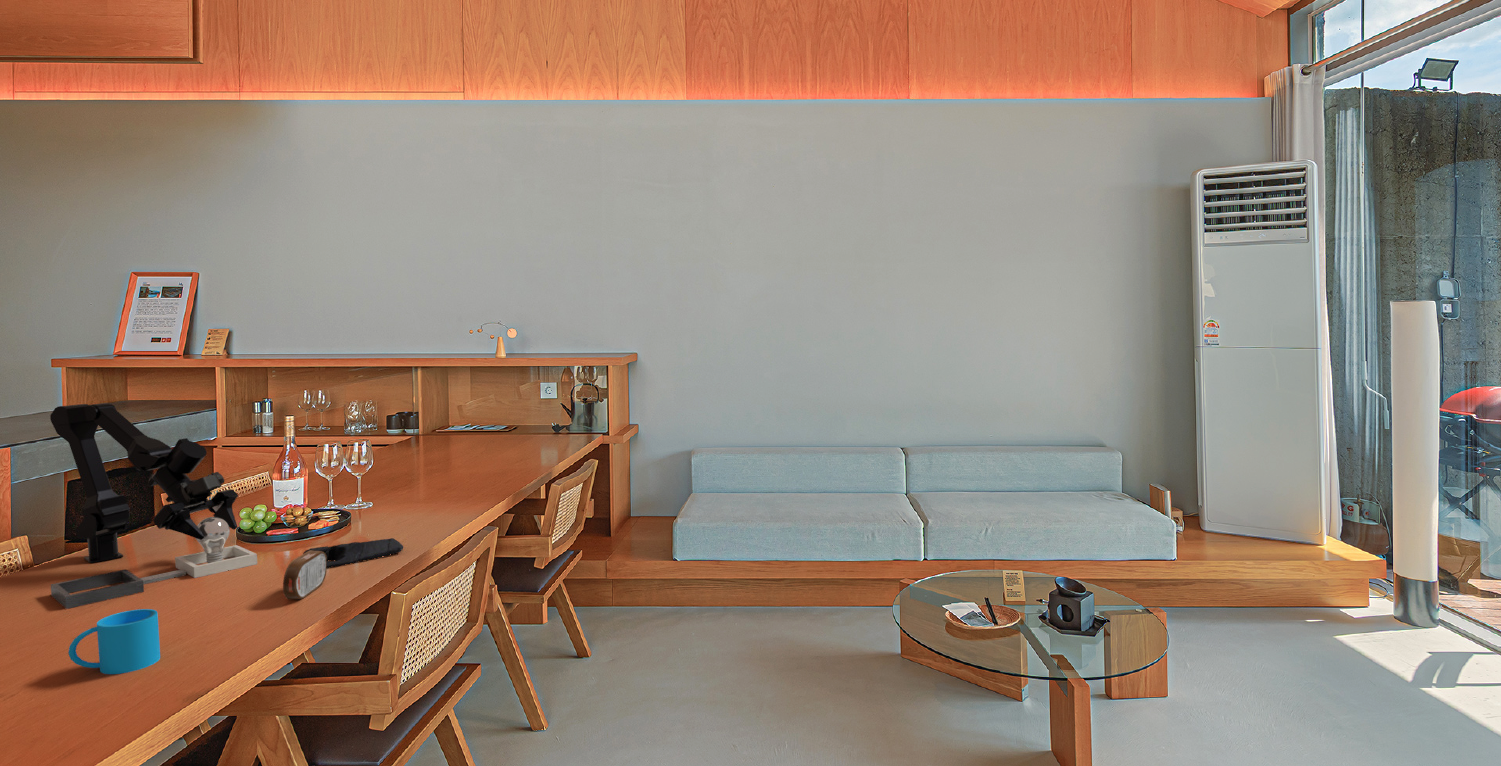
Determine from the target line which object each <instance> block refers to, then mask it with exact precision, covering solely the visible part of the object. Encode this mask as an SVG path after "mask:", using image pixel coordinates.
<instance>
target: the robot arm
mask: <svg viewBox="0 0 1501 766" xmlns="http://www.w3.org/2000/svg"><path fill="white" fill-rule="evenodd" d="M49 419H50V423H51V425H52V426H53V428H54V430H55V432H56V434H57V435H59V436H60V437H61V438H62V439H63V440H65V441H66V442H68V445H69V447H70V451H71V453H72V456H73V459H74V462H75V465H76V468H77V471H78V474H79V478H80V480H81V483H82V487H83V490H84V492H85V496H86V500H85V502H84V506H83V508H82V514H83V519H82V521H81V522H79V524H78V525H77V527H76V528H75V529H74V531H75V534H76V537H77V538H78V539H87V549H88V555H87V556H84V557H83V559H84V560H85V561H87V562H89V564H93V563H98V562H99V563H100V562H105V561H109V560H115V559H121V558H123V557H124V554H122V552H119V545H118V543H119V541H118V532H121V531H126V530H127V528H128V523H129V519H130V516H131V514H130V510H131V507H130V506H129V504H128V502H127V497H126V496H125V495H124V494H120V495H119V494H118V493H116V492H114V491H113V489H112V486H111V483H110V479H109V477H108V474H107V471H106V468H105V465H104V461H103V459H102V456H101V453H100V450H99V448H98V447H99V446H98V444H97V442H96V439H95V435H96V432H97V429H98V428H99V427H100V428H101V429H102V430H104V432H106V433H107V434H108V435H109V436H110V437H111V438H112V439H113V440H114V441H116V442H117V443H118V444H120V446H122V447H123V448H124V449H125V450H126V453H127V459H128V460H129V462H130V463H131V464H132V465H133V466H134V468H135V469H136V470H138V471H140V472H147V471H153V470H156V471H155V472H154V473H153V474H149V479H148V482H147V483H148V484H147V485H148V487H153V486H159V487H160V488H161V490H162V491H163V492H164V493H165V494H166V496H167V497H166V498H165V501H166V502H167V503H168V504H164V505H163V506H162V507H161V509H160V510H159V511H158V512H157V513H156V515H155V516H154V517H153V524H154V525H155V527H157V528H158V529H159V530H161V529H164V530H167V531H168V530H170V531H173V532H176V533H179V534H180V533H181V534H183V535H187V536H189V537H192V538H194V539H196V538H197V539H200V540H202V539H203V538H204V535H203V533H202V532H201V530H200V529H199V528H198V527H197V525H198V524H196V523H195V522H194V521H193V519H192V517H191V514H193V513H196V512H200V511H204V510H207V509H208V511H209V512H211V513H212V517H219V518H222V519H224V520H225V521H226V522H227V523H228V525H229V528H230V529H232V530H234V531H235V530H236V529H237V528H238V524H237V522H236V518H235V515H234V511H233V504H234V503H235V502H236V499H237V498H238V497H239V494H238V493H237V492H236V491H235V489H231V488H229V489H224V490H220V491H218V492H216V493H215V494H214V496H212V494H213V492H212V491H214V490H216V489H219V488H221V487H222V485H223V484H224V483H225V478H224V477H223V475H222V474H221V473H220V472H219V471H216V472H215V471H214V472H211V474H207V476H204V477H199V478H198V479H191V478H190V477H189V475H187V474H192V473H193V472H194V471H195V469H196V468H197V466H199V465H200V463H201V462H202V461H203V460H204V459H205V457H206V456H207V454H208V453H207V449H206V448H205V447H204V445H201V444H199V443H198V442H195V441H191V440H190V439H188V438H179V439H178V440H177V442H176V443H175V445H174V446H173V448H171V446H169V445H168V444H166V443H164V442H163V441H162V440H160V439H156V438H153V437H150V436H147V435H145V434H144V433H143V432H142V431H141V430H140V429H138V428H137V427H136V426H135V425H134V424H133V423H132V422H130V421H129V420H128V419H127V418H126V417H125V416H123V414H121V412H119V411H118V410H117V408H116V406H115V405H114V404H112V403H108V402H103V403H95V404H88V403H81V404H80V403H79V404H69V405H68V404H67V405H60V406H57V407H55V408H54V409H53V411H52V412H51V413H50V417H49ZM210 496H212V498H211V499H208V498H209V497H210Z"/></svg>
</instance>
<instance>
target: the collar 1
mask: <svg viewBox="0 0 1501 766" xmlns="http://www.w3.org/2000/svg"><path fill="white" fill-rule="evenodd" d="M140 578H141V577H139V576H137V575H135V574H134V573H133V572H131V571H129V570H127V569H126V568H125V569H121V570H120V569H119V570H116V571H115V570H114V571H111V572H107V573H106V572H105V573H100V574H95V575H90V576H85V577H81V578H76V579H75V578H74V579H71V580H66V581H61V582H55V583H51V584H50V596H51V597H52V598H54V600H56V601H57V603H59V604H60V605H61V606H63V607H64V608H65V610H67V609H72V608H76V607H77V608H78V607H81V606H86V605H90V604H94V602H95V603H99V602H104V601H107V599H109V600H112V599H118V598H121V596H122V597H125V596H124V595H127V596H131V595H135V594H134V593H136V594H139V593H138V592H140V593H144V592H145V588H144V585H145V584H143V580H142V579H140ZM119 583H120V584H119ZM109 584H110V585H109ZM81 591H82V592H81ZM117 597H118V598H117Z"/></svg>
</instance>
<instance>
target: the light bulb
mask: <svg viewBox="0 0 1501 766" xmlns="http://www.w3.org/2000/svg"><path fill="white" fill-rule="evenodd" d="M196 525H197V527H198V528H199V529H200V530H201V532H202V533H203V535H204V538H203V539H202V540H200V539H197V538H195V540H196V541H197V542H198V544H199V545H200V546H201V547H202V549H203V552H205V554H206V555H207V556H206V557H207V558H206V560H207V562H206V564H207V563H212V562H216V561H221V560H224V559H223V558H222V557H223V556H222V555H223V553H222V551H223V549H224V547H225V543H226V542H227V540H228V538H229V536H230V533H231V532H230V531H231V528H230V527H229V525H228V523H227V522H226V521H225V520H224V519H222V518H219V517H214V516H210V517H209V516H208V517H206V518H203V520H202V519H201V521H200V522H198V524H196Z"/></svg>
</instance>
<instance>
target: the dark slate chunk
mask: <svg viewBox="0 0 1501 766" xmlns="http://www.w3.org/2000/svg"><path fill="white" fill-rule="evenodd" d="M310 550H313V551H322V552H324V553H325V554H326V557H327V566H326V569H329V567H330V568H336V567H341V565H343V566H346V565H345V564H348V565H351V564H350V563H353V564H356V563H359V562H358V561H360V562H364V561H363V560H366V561H369V560H368V559H372V560H374V558H376V559H379V558H378V557H381V558H383V557H382V556H386V557H388V555H390V554H393V555H396V554H398V553H401V552H402V551H403V550H404V545H403V544H402V543H401V542H400V541H399V540H397V539H395V538H393V537H391V538H382V539H375V540H370V541H369V540H368V541H361V542H359V541H356V542H355V541H353V542H349V543H348V542H347V543H342V544H335V545H331V546H328V545H327V546H320V547H311V548H309V549H306V550H305V551H303V553H302V555H303V554H304V553H306V552H308V551H310ZM395 553H396V554H395ZM390 556H391V555H390ZM328 560H333V561H328ZM334 560H335V561H334Z"/></svg>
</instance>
